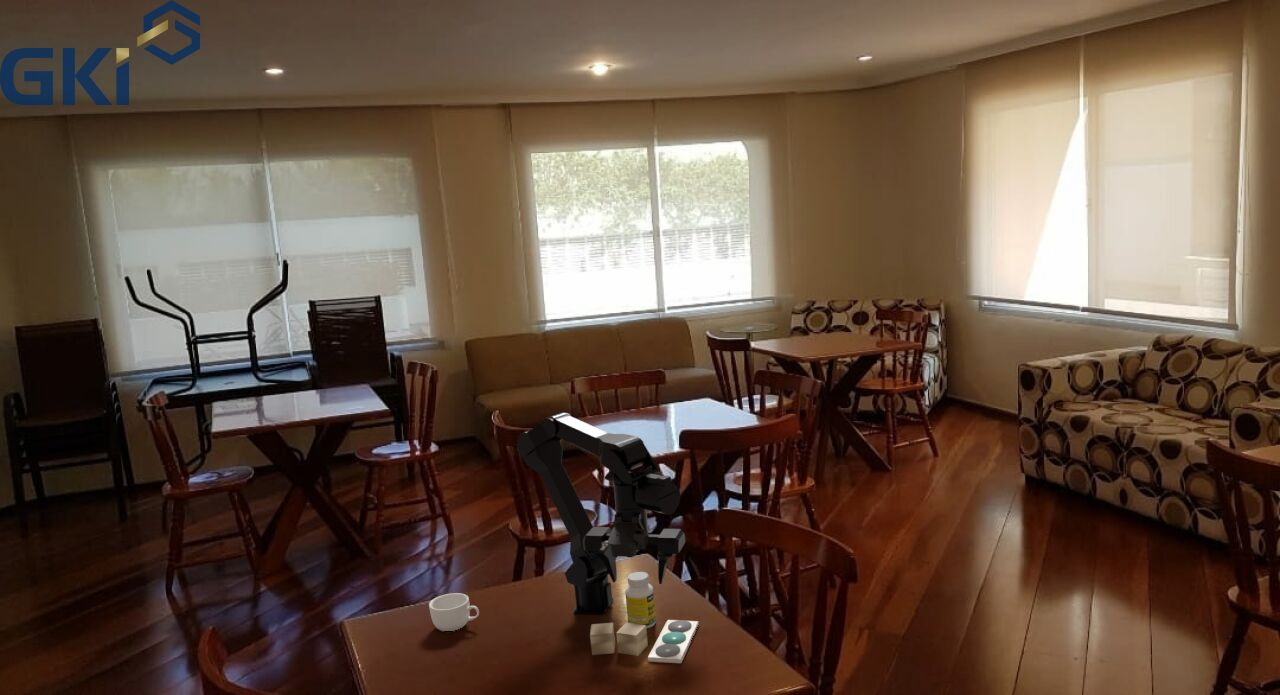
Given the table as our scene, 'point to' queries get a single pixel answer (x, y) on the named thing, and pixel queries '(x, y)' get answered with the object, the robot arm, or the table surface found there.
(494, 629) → the table surface
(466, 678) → the table surface
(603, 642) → the beech block
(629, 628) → the beech block
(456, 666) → the table surface
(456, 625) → the teacup
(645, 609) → the supplement bottle
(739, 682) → the table surface
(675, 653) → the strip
